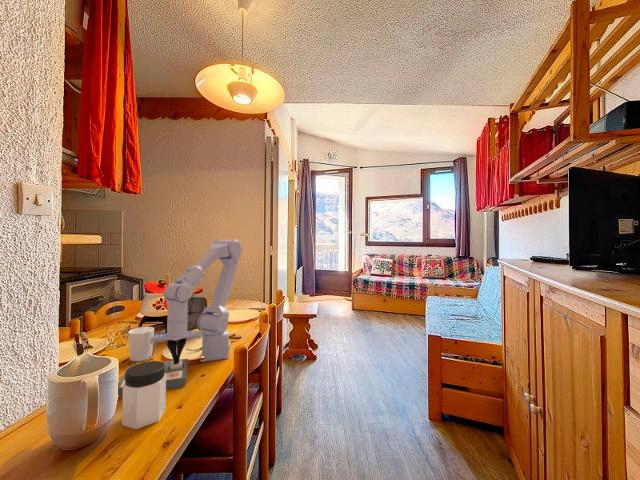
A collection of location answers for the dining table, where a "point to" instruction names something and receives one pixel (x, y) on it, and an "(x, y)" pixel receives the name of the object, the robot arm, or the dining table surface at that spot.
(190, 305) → the tabletop clock
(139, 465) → the dining table surface
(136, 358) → the white cup
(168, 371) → the button board
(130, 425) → the jar
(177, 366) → the button
